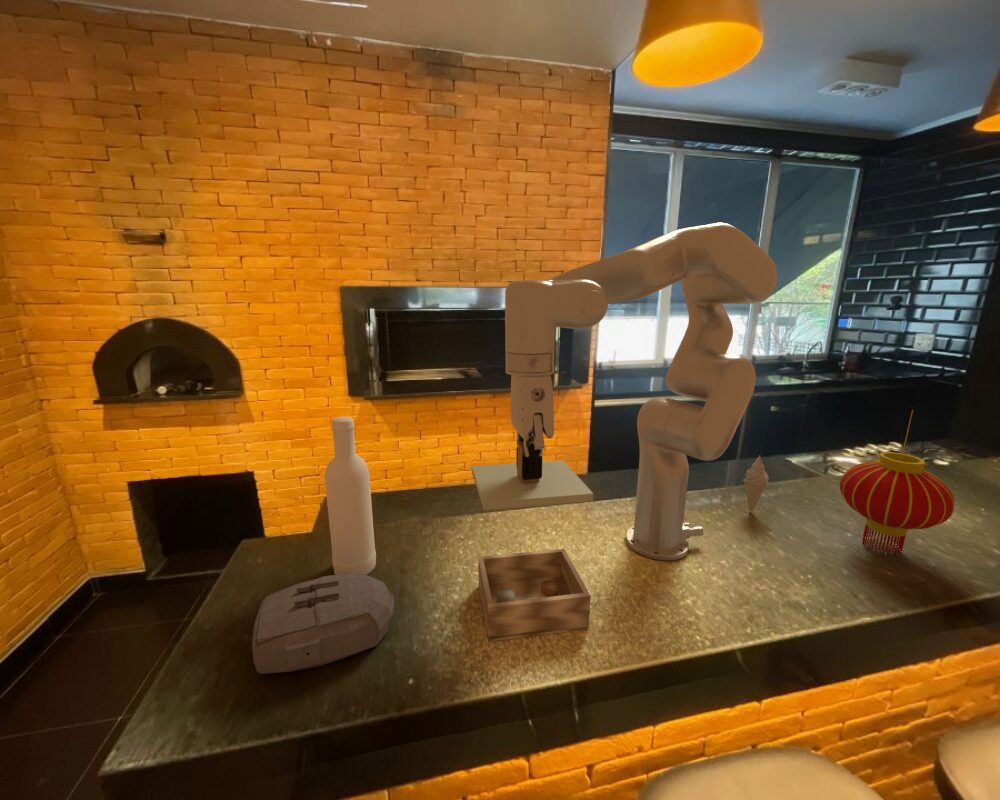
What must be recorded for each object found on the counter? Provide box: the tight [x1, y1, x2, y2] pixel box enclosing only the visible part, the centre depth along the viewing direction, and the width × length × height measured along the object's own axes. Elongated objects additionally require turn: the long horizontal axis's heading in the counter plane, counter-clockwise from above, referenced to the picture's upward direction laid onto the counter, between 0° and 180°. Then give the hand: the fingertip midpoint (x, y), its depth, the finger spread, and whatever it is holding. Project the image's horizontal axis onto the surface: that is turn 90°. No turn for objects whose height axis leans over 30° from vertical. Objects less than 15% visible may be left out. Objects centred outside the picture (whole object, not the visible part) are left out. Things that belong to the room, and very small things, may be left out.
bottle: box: [324, 416, 377, 575], centre depth 79 cm, size 8×8×30 cm
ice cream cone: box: [742, 454, 769, 512], centre depth 102 cm, size 5×5×15 cm
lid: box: [471, 441, 594, 511], centre depth 70 cm, size 17×14×8 cm
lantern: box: [839, 409, 955, 554], centre depth 86 cm, size 17×17×30 cm
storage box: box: [477, 548, 591, 643], centre depth 71 cm, size 16×13×6 cm
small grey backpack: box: [251, 573, 395, 675], centre depth 65 cm, size 15×8×20 cm
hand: (528, 472), depth 70 cm, fingers closed on lid, 3 cm apart
